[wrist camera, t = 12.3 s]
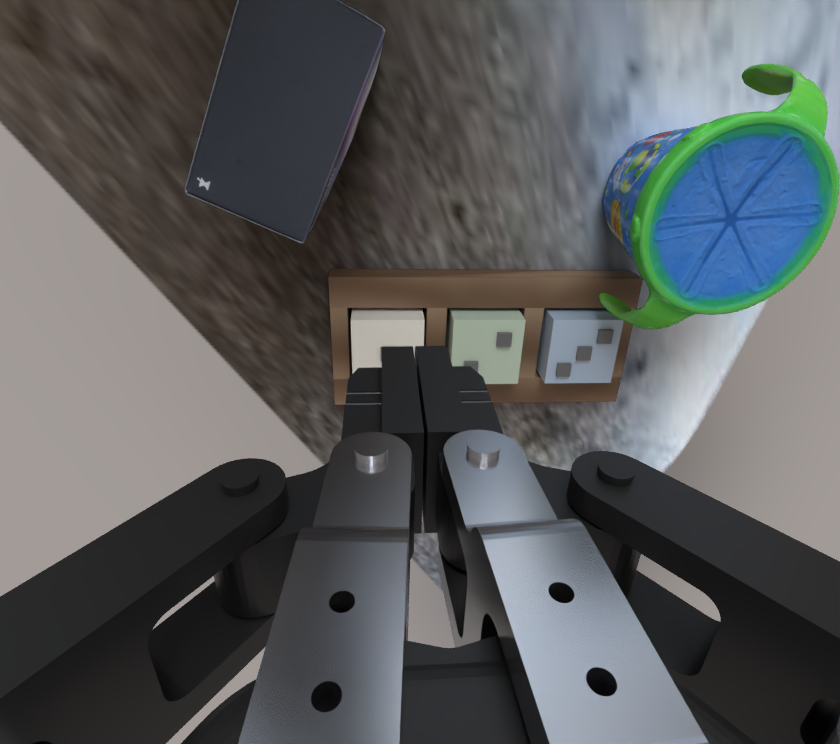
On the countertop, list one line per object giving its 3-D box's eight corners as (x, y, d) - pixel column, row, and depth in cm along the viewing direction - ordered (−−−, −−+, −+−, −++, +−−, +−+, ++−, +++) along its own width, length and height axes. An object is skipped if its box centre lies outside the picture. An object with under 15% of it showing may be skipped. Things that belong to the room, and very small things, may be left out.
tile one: (352, 302, 39) (350, 321, 36) (420, 302, 40) (424, 321, 36) (354, 363, 41) (352, 387, 38) (419, 363, 42) (422, 386, 38)
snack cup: (633, 319, 41) (704, 380, 32) (525, 250, 38) (570, 296, 29) (788, 130, 36) (926, 141, 27) (677, 32, 33) (790, 7, 24)
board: (330, 268, 38) (328, 277, 36) (631, 270, 40) (642, 278, 38) (336, 391, 43) (334, 404, 41) (606, 389, 44) (615, 401, 42)
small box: (325, 213, 36) (306, 252, 27) (230, 169, 35) (175, 195, 25) (388, 49, 32) (392, 29, 23) (284, -9, 31) (242, -56, 21)
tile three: (540, 302, 40) (555, 321, 37) (605, 302, 41) (625, 321, 37) (532, 362, 42) (545, 385, 39) (593, 362, 43) (612, 384, 39)
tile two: (447, 302, 40) (454, 321, 36) (514, 302, 40) (526, 321, 37) (444, 363, 42) (450, 386, 39) (507, 362, 42) (518, 385, 39)
